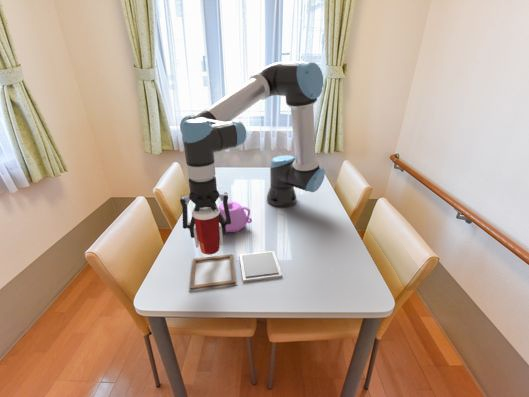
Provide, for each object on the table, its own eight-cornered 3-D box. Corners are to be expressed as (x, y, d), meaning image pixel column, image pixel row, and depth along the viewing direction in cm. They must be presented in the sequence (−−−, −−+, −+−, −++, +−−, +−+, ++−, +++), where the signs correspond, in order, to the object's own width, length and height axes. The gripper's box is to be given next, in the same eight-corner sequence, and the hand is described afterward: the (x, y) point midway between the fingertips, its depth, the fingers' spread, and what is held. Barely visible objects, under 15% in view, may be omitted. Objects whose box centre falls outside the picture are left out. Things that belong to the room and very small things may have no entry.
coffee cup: (227, 243, 87) (224, 204, 81) (215, 259, 81) (210, 217, 74) (205, 238, 90) (200, 199, 83) (191, 253, 83) (185, 212, 76)
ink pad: (274, 252, 99) (274, 249, 99) (282, 277, 88) (282, 274, 87) (239, 256, 97) (239, 253, 96) (243, 282, 86) (243, 279, 85)
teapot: (202, 235, 109) (198, 209, 103) (210, 217, 122) (208, 193, 116) (250, 237, 108) (249, 211, 102) (254, 219, 120) (253, 195, 115)
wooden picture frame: (233, 255, 98) (233, 253, 97) (237, 285, 84) (237, 282, 84) (192, 260, 95) (191, 257, 95) (189, 291, 82) (188, 289, 82)
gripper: (236, 169, 79) (239, 233, 89) (167, 174, 76) (178, 239, 86) (238, 179, 72) (242, 247, 83) (162, 184, 69) (176, 254, 79)
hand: (209, 243), depth 84 cm, fingers closed on coffee cup, 7 cm apart
